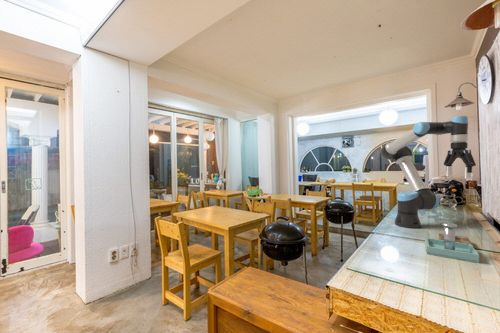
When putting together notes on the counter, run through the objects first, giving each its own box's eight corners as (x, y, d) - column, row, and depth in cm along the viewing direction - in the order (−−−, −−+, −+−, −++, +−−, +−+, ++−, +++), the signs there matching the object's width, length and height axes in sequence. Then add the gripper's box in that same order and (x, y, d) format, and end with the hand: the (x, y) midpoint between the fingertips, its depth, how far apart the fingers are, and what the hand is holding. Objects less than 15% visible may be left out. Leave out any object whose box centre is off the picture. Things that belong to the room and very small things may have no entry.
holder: (441, 244, 121) (441, 239, 121) (438, 238, 131) (438, 233, 131) (472, 249, 114) (472, 243, 114) (467, 242, 124) (467, 237, 124)
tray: (426, 254, 110) (427, 246, 110) (425, 244, 123) (425, 237, 123) (479, 263, 99) (479, 255, 99) (471, 251, 113) (471, 244, 112)
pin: (442, 251, 110) (442, 224, 110) (441, 247, 115) (441, 221, 115) (458, 253, 107) (458, 226, 107) (456, 249, 112) (456, 223, 112)
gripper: (485, 140, 124) (484, 179, 125) (449, 143, 149) (448, 176, 150) (470, 140, 125) (469, 179, 125) (437, 143, 150) (436, 176, 150)
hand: (458, 177), depth 138 cm, fingers open, 13 cm apart
